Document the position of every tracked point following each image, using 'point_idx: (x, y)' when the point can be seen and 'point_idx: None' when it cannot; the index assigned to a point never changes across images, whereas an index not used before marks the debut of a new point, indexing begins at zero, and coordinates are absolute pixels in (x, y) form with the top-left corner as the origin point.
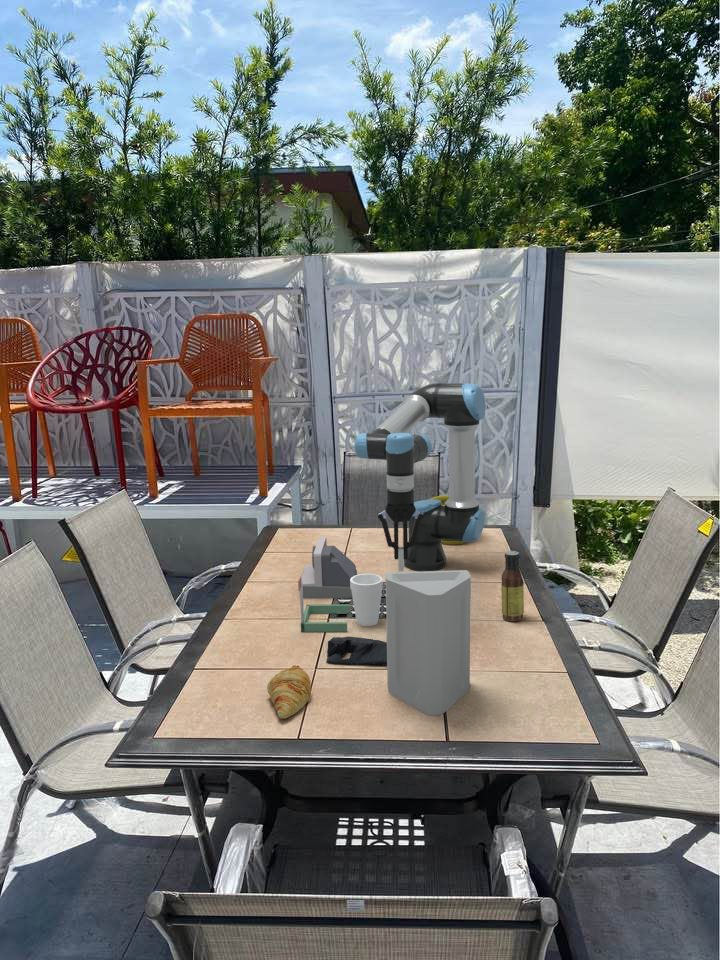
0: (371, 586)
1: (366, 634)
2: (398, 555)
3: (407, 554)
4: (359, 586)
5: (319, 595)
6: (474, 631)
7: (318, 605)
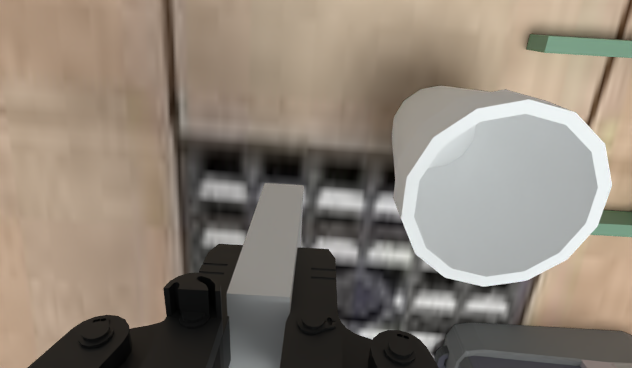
0: (487, 102)
1: (454, 2)
2: (293, 254)
3: (201, 269)
4: (565, 108)
5: (573, 334)
6: (13, 3)
7: (621, 227)
